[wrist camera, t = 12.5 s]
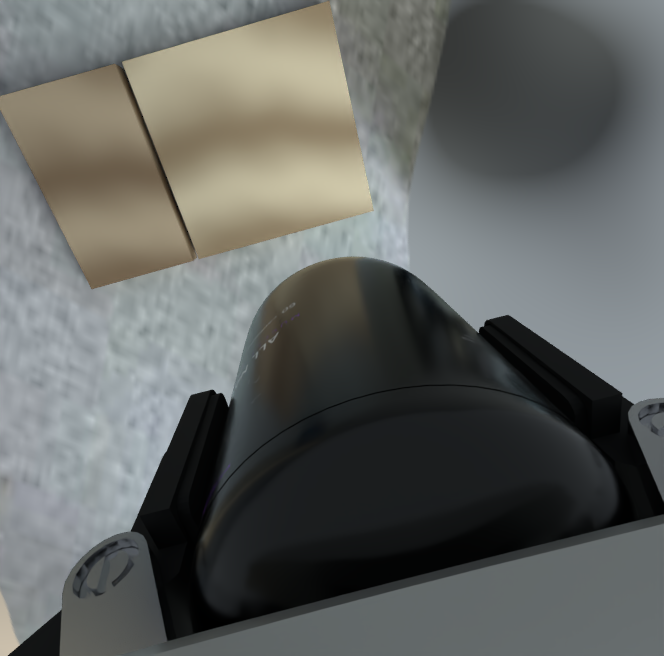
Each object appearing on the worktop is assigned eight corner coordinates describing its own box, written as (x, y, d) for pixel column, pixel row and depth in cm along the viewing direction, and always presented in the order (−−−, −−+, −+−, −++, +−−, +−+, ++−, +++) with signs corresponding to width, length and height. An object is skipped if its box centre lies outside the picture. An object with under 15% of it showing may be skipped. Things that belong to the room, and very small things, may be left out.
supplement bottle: (220, 274, 12) (-401, 1275, 1) (438, 234, 12) (1614, 779, 1) (270, 451, 15) (216, 1271, 4) (448, 415, 15) (883, 1099, 4)
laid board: (196, 257, 28) (193, 260, 27) (99, 284, 28) (91, 289, 27) (123, 68, 24) (114, 63, 22) (8, 101, 23) (-6, 97, 22)
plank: (370, 208, 27) (373, 210, 26) (203, 255, 28) (198, 259, 27) (327, 9, 23) (329, 0, 22) (130, 67, 24) (121, 61, 22)
